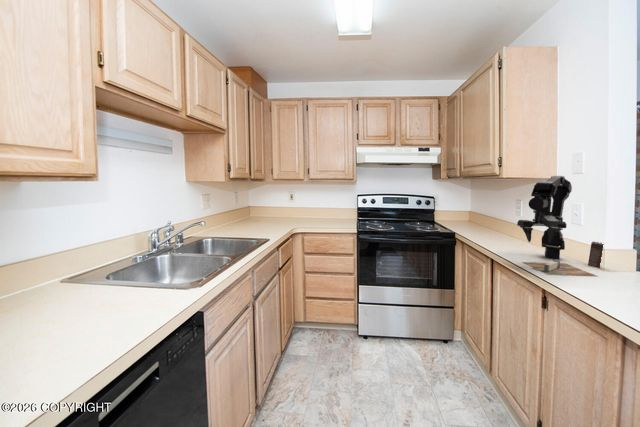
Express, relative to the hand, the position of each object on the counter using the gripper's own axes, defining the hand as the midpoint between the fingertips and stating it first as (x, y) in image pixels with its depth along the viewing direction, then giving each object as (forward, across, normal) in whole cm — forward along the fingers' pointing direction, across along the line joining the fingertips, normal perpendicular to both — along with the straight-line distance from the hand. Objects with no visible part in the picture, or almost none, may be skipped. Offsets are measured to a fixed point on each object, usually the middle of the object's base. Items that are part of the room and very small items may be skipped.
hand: (539, 242), depth 144 cm
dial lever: (+10, +1, -8) cm, 13 cm away
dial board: (+12, +5, -6) cm, 14 cm away
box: (+12, +27, +2) cm, 30 cm away
